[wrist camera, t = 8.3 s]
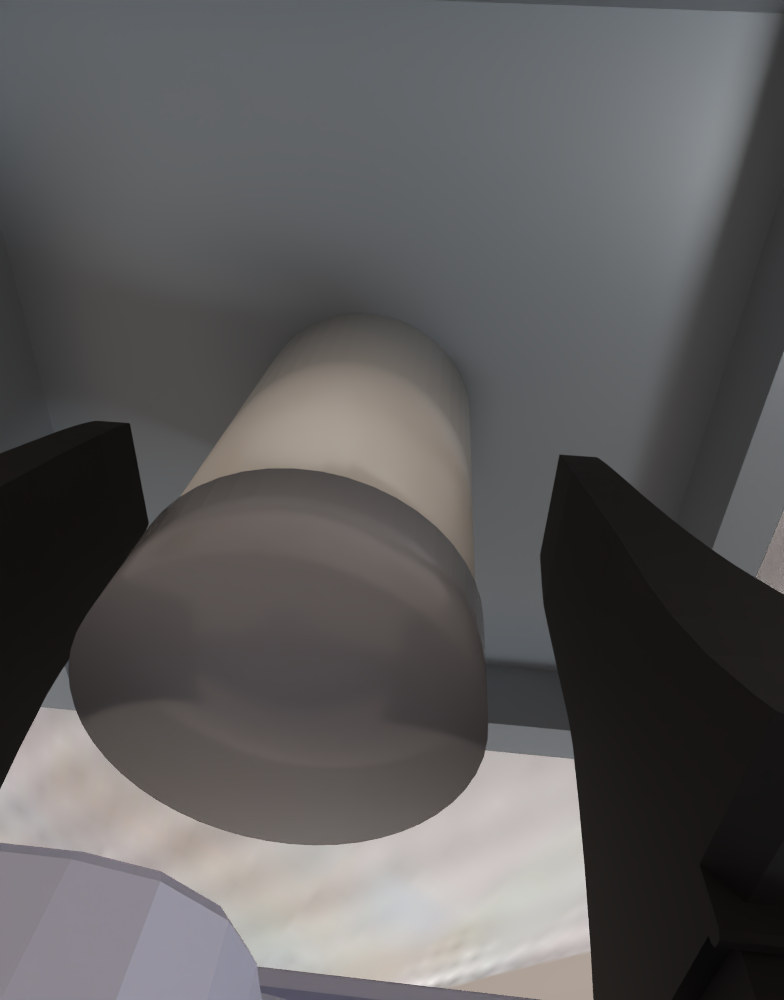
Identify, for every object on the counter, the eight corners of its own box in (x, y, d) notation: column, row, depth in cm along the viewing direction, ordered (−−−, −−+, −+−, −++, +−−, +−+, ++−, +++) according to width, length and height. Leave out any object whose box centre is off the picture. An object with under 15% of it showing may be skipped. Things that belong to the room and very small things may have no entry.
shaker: (483, 312, 13) (510, 568, 6) (466, 514, 15) (471, 860, 8) (247, 303, 13) (17, 537, 6) (266, 503, 15) (116, 827, 9)
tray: (914, -63, 10) (1037, -101, 8) (650, 689, 18) (675, 768, 16) (-118, -94, 11) (-260, -139, 9) (87, 638, 19) (40, 706, 17)
